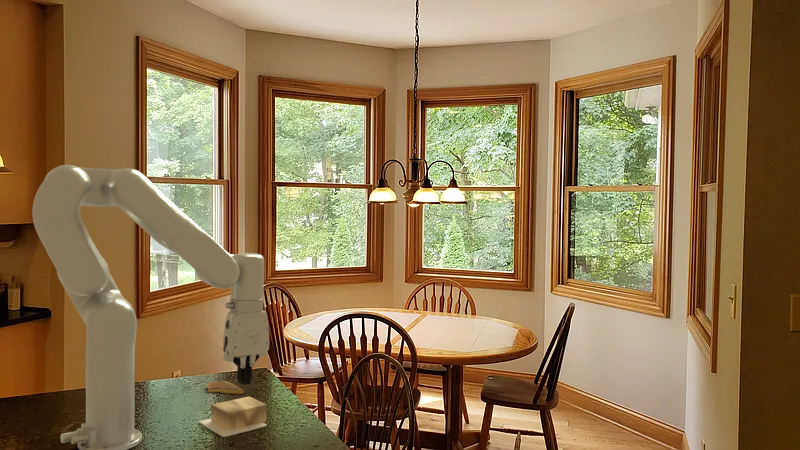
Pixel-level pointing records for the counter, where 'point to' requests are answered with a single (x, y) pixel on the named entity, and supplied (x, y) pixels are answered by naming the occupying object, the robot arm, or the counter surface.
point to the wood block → (238, 413)
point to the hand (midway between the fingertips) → (244, 383)
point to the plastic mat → (226, 433)
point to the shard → (224, 387)
